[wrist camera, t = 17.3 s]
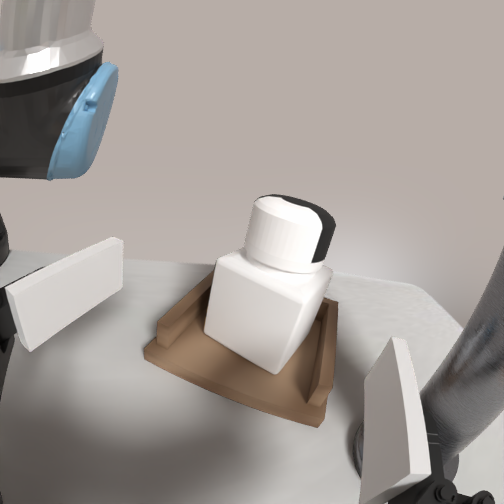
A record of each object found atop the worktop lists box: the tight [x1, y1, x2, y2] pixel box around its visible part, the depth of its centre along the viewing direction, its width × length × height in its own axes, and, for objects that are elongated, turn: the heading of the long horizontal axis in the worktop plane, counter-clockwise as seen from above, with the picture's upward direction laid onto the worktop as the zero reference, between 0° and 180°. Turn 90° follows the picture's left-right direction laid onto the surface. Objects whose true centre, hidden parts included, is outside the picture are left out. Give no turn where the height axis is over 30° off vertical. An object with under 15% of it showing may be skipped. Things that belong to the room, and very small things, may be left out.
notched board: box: [144, 270, 338, 428], centre depth 24 cm, size 14×14×4 cm
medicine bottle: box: [204, 194, 336, 375], centre depth 22 cm, size 7×7×12 cm
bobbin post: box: [353, 198, 504, 481], centre depth 11 cm, size 10×10×20 cm
